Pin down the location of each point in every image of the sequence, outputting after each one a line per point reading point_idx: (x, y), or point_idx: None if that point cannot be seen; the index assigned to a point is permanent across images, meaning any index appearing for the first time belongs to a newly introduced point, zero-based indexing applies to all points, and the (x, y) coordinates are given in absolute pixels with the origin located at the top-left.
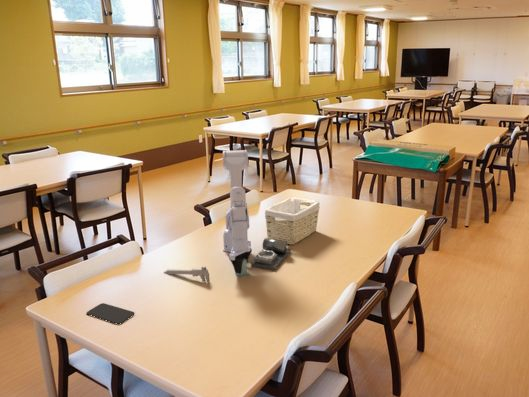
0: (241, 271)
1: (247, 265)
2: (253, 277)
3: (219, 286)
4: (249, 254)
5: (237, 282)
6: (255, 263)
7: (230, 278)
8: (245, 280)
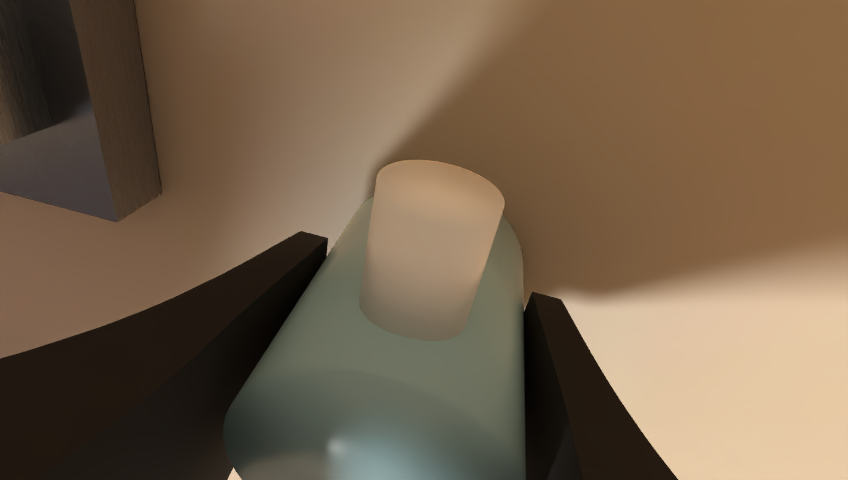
0: (519, 299)
1: (483, 270)
2: (560, 24)
3: (844, 461)
4: (25, 401)
5: (757, 276)
6: (84, 96)
7: None
8: (692, 160)
